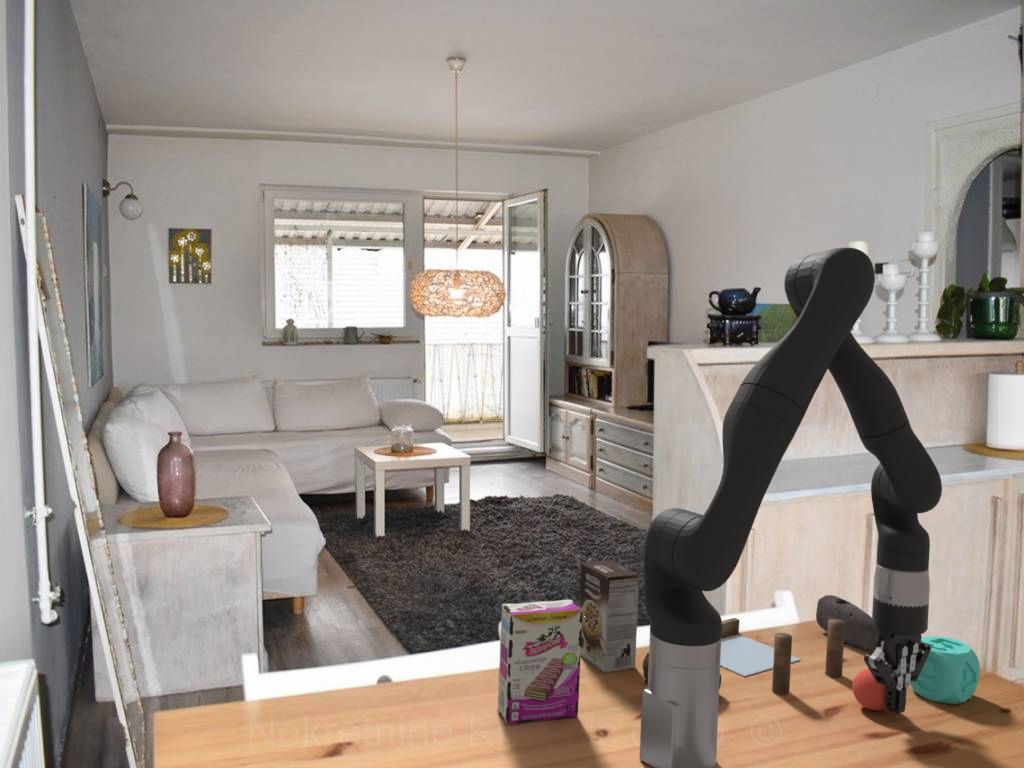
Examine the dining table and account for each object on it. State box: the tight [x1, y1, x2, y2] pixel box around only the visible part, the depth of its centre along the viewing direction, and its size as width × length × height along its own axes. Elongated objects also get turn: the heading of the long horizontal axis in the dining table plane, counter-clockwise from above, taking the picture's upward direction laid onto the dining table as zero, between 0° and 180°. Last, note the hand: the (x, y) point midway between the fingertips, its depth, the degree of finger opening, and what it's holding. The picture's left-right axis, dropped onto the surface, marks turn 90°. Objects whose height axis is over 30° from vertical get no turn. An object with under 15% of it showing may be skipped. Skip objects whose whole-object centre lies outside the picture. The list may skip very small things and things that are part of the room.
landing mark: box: [720, 633, 802, 678], centre depth 162 cm, size 14×14×1 cm
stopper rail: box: [721, 617, 740, 638], centre depth 169 cm, size 16×1×2 cm, turn 124°
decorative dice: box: [910, 635, 981, 704], centre depth 147 cm, size 8×8×8 cm
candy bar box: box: [497, 599, 583, 725], centre depth 136 cm, size 11×5×16 cm, turn 108°
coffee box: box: [579, 559, 640, 673], centre depth 157 cm, size 9×6×16 cm
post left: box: [771, 632, 793, 696], centre depth 146 cm, size 3×3×9 cm
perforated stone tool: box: [815, 594, 878, 652], centre depth 169 cm, size 15×5×7 cm, turn 19°
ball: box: [852, 668, 886, 711], centre depth 141 cm, size 6×6×6 cm
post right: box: [824, 619, 845, 679], centre depth 154 cm, size 3×3×9 cm
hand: (895, 711), depth 137 cm, fingers closed
